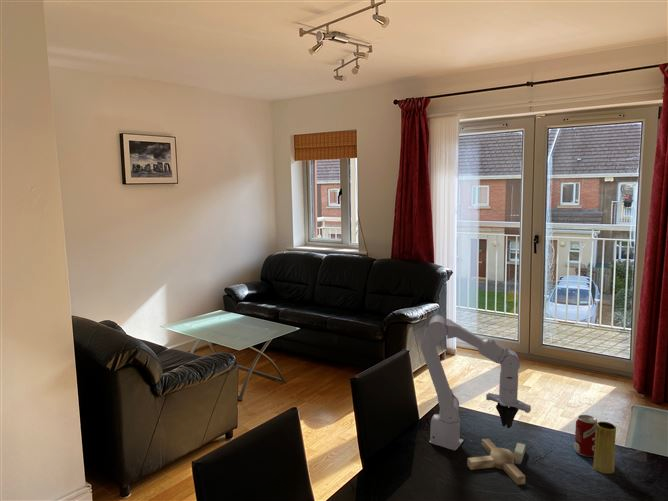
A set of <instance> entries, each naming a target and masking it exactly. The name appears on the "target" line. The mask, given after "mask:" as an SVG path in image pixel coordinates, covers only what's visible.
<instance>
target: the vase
mask: <svg viewBox="0 0 668 501" xmlns="http://www.w3.org/2000/svg"><path fill="white" fill-rule="evenodd" d="M616 435H617V426H616V425H614V424H613V423H612V422H611V423H610V422H607V421H597V429H596V440H595V450H594V456H593V462H592V468H593V469H594V470H596V471H597V472H599V473H601V474H606V475H610V474H614V473H615V472H616V471H615V470H616V469H615V468H616V467H615V462H616V461H615V459H616V457H615V456H616V438H617V436H616Z"/></svg>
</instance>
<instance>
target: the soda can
mask: <svg viewBox="0 0 668 501" xmlns="http://www.w3.org/2000/svg"><path fill="white" fill-rule="evenodd" d="M577 418H578V419H576V421H575V432H574V446H573V447H574V448H573V450H574V451H575V452H576V453H577V454H578V455H580V456H581V457H582V456H583V457H586V458H594V450H595V440H596V429H597V423H598V419H597V418H596V417H595V416H592V415H587V414H580V415H578V417H577Z"/></svg>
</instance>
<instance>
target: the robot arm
mask: <svg viewBox="0 0 668 501" xmlns="http://www.w3.org/2000/svg"><path fill="white" fill-rule="evenodd" d="M444 338H446V339H447V340H449V339H454V338H457V339H459V340H460V341H462V342H465V343H466V344H468V345H470V346H473V347H475V348H476V349H478V353H479V355H482V356H483V357H485V358H487V359H489V360H490V361H492V362H493V363H496V364H498V365H500V373H499V387H498V388H499V389H498V392H499V393H498V394H497V393H493V392H492V393H491V392H488V393H487V394H486V395H485V396H486V398H485V399H486V401H491V402H496V403H497V404H496V405H495V409H496V410H497V413H498V414H499V417H500V421H501V426H502V427H506V428H507V429H511V428H512V427H513V422H514V420H515V417H516V415H517V414H518V412H519V410H520V411H523V412H525V413H526V414H529V413H530V412H531V410H532V409H531V408H532V405H529V404H527V403H525V402H523V401H521V400H519V399H518V395H519V394H518V391H519V390H518V389H519V369H520V367H521V363H520V359H519V356H518V354H517V352H516V351H514V350H513V349H512V348H509V347H508V346H507V347H506V346H505V347H504V346H502V345H500V344H499V343H497V342H496V340H495V339H494V338H491V339H489V338H483V339H482V338H480V337H479V336H477V335H476V334H474V333H472V332H471V331H469V330H468V329H466V328H464V327H462V326H461V325H459V324H457V323H456V322H455V321H453V320H452V319H449V318H446V317H444V316H443V315H441V314H436V315H433V316H431V318H430V319H429V321H428V322H427V323H426V325H425V328H424V332H423V336H422V339H421V342H420V349H421V352H422V356H423V358H424V361H425V364H426V367H427V370H428V373H429V375H430V378H431V381H432V384H433V387H434V390H435V392H436V394H437V395H436V397H437V402H438V406H439V413H434V414H433V416H432V418H431V419H430V432H429V433H430V434H429V436H430V437H429V443H430V444H432V445H435V446H440V447H442V448H446V449H448V450H452V451H456V450H458V448H459V447H460V446H461V445H462V443H463V442H464V439H463V438H460V432H461V431H460V430H461V428H460V426H461V417H460V414H459V413H460V412H459V407H460V402H459V401H460V400H459V399H458V398H457V397H456V396H455V395H454V391H453V390H452V389H451V387H450V384H449V381H448V379H447V376H446V373H445V370H444V367H443V365H442V361H441V359H440V355H439V352H438V350H437V345H438V343H439V342H440V341H442V340H443V339H444Z"/></svg>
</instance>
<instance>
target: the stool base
mask: <svg viewBox="0 0 668 501" xmlns="http://www.w3.org/2000/svg"><path fill="white" fill-rule="evenodd" d="M481 448H483V450H484V451H485V452H486V453H487V454H488V455H484V456H473V457H467V458H466V459H467V460H466V461H467V462H466V463H467V464H466V466H467V467H468V468H469V469H470V471H473V470H480V469H490V468H496V469H497V470H499V471H500V470H501V471H504V472H505V473H506V475H508V476H509V478H510V479H511V480H512V481H513V482H514V483H515V484H516V485H517V486H520V485H525V484H526V475H525V474H524V473H523V472H522V471H521V470H520V469H519V468H518V467H517V466H516V464H515V463H514V454H513V453H514V452H513V451H511V450H509V449H507V448H503V447H498V446H496V445H495V443H494V442H492V440H491V439H490V438H481Z"/></svg>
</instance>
